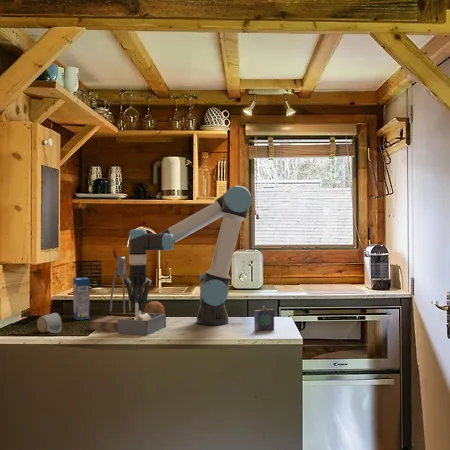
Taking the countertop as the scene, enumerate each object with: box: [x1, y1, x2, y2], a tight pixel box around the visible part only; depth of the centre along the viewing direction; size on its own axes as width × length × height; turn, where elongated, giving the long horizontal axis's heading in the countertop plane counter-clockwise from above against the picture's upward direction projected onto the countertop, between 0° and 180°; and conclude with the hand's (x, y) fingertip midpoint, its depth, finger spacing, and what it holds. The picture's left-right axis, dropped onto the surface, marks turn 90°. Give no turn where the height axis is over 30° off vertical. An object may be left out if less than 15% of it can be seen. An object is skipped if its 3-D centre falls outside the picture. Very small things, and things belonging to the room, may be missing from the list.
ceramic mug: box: [36, 312, 63, 334], centre depth 224 cm, size 11×8×8 cm
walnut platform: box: [90, 315, 135, 333], centre depth 231 cm, size 14×14×4 cm
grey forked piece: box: [109, 255, 132, 315], centre depth 273 cm, size 10×11×30 cm
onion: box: [143, 300, 166, 314], centre depth 245 cm, size 10×10×10 cm
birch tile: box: [135, 313, 151, 321], centre depth 225 cm, size 7×7×3 cm
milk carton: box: [72, 276, 91, 321], centre depth 255 cm, size 10×6×20 cm, turn 25°
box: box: [117, 312, 167, 336], centre depth 226 cm, size 14×18×6 cm
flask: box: [253, 305, 275, 332], centre depth 224 cm, size 9×3×11 cm, turn 109°
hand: (138, 317), depth 226 cm, fingers closed
